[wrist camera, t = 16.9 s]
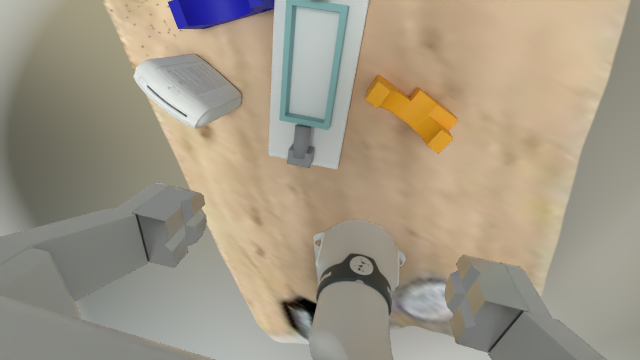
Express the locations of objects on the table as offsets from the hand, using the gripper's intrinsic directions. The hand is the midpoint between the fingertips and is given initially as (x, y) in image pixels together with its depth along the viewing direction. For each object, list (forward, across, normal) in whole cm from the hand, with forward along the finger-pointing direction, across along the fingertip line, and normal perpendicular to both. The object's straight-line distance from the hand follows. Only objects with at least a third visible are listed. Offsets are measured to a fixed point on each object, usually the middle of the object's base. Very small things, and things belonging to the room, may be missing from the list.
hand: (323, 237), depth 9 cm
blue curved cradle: (+36, +20, -7) cm, 41 cm away
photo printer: (+35, +24, +5) cm, 43 cm away
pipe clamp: (+36, -7, +3) cm, 36 cm away
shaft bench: (+35, +8, 0) cm, 36 cm away
